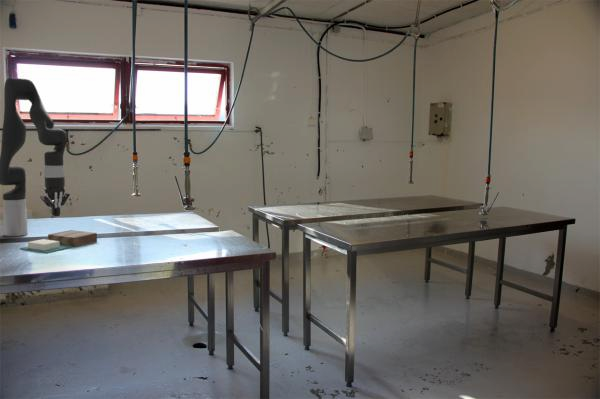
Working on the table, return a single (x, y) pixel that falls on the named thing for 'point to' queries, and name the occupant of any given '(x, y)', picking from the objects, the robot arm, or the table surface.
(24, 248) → the mat
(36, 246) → the cream rectangular tile
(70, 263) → the table surface
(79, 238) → the deck
